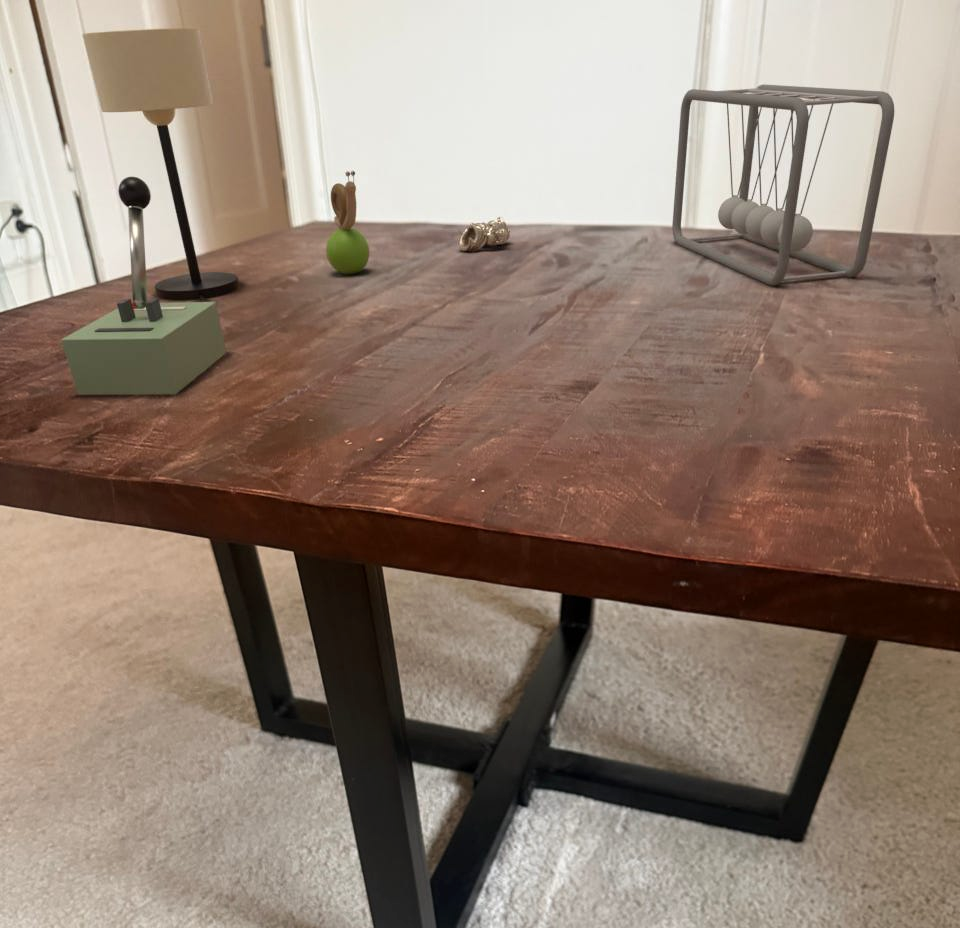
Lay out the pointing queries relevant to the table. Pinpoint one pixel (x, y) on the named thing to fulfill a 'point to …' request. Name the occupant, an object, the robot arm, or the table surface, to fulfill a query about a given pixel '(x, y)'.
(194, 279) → the desk lamp
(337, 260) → the snail figurine
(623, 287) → the table surface
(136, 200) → the toggle lever
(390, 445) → the table surface
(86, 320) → the table surface
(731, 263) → the newton's cradle
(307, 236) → the table surface
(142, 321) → the switch box
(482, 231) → the ornament
